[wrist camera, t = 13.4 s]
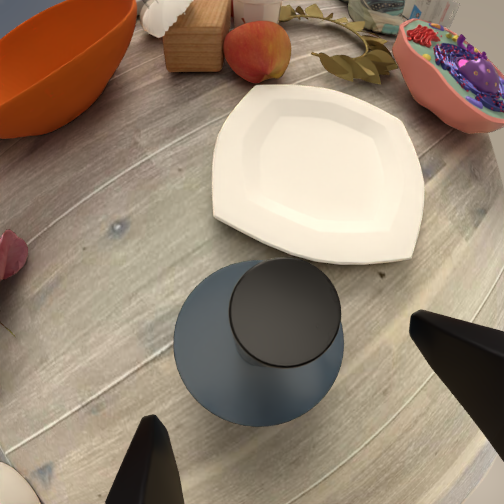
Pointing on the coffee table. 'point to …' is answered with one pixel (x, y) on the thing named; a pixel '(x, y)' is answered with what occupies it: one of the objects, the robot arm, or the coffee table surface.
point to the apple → (257, 50)
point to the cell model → (450, 77)
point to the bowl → (61, 63)
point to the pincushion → (163, 15)
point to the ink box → (431, 10)
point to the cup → (256, 11)
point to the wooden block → (198, 37)
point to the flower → (11, 255)
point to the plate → (318, 176)
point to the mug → (15, 487)
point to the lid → (260, 341)
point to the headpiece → (343, 65)
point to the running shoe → (377, 14)
